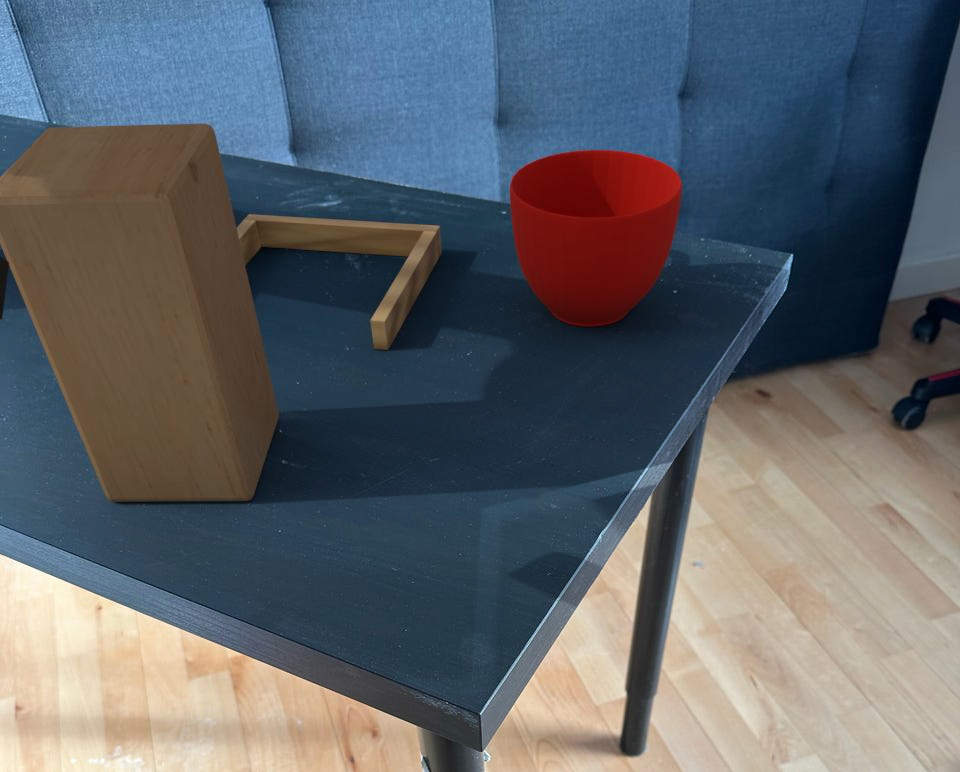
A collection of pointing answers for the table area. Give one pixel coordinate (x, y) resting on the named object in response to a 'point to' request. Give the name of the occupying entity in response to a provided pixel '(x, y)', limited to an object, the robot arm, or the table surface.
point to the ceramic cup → (593, 230)
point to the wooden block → (143, 306)
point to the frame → (356, 238)
